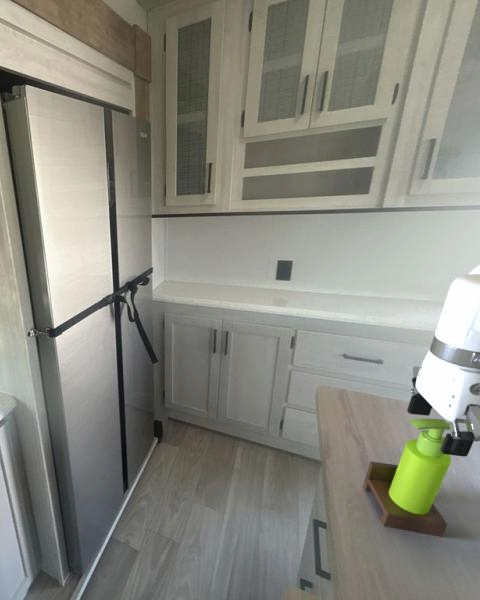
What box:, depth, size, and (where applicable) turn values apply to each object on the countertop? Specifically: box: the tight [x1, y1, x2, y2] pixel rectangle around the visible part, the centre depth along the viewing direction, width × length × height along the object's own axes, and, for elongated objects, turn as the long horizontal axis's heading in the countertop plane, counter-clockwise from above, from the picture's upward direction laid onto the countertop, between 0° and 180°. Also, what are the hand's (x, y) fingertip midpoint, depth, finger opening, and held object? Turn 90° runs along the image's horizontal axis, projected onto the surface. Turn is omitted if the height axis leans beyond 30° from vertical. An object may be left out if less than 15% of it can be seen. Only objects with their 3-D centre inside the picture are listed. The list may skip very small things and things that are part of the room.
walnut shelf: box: [362, 461, 448, 538], centre depth 67 cm, size 9×9×9 cm
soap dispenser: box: [389, 418, 452, 515], centre depth 62 cm, size 6×7×20 cm
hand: (434, 432), depth 59 cm, fingers open, 9 cm apart
